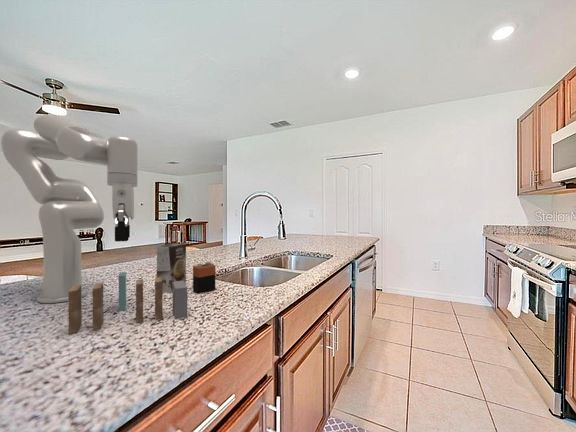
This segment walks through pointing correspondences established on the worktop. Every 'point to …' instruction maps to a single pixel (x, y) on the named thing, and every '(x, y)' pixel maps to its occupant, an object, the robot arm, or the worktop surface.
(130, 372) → the worktop surface
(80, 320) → the domino
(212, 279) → the battery
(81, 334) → the worktop surface
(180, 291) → the block
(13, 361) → the worktop surface
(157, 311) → the domino
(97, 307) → the domino
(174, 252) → the coffee box
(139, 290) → the domino
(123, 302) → the domino
